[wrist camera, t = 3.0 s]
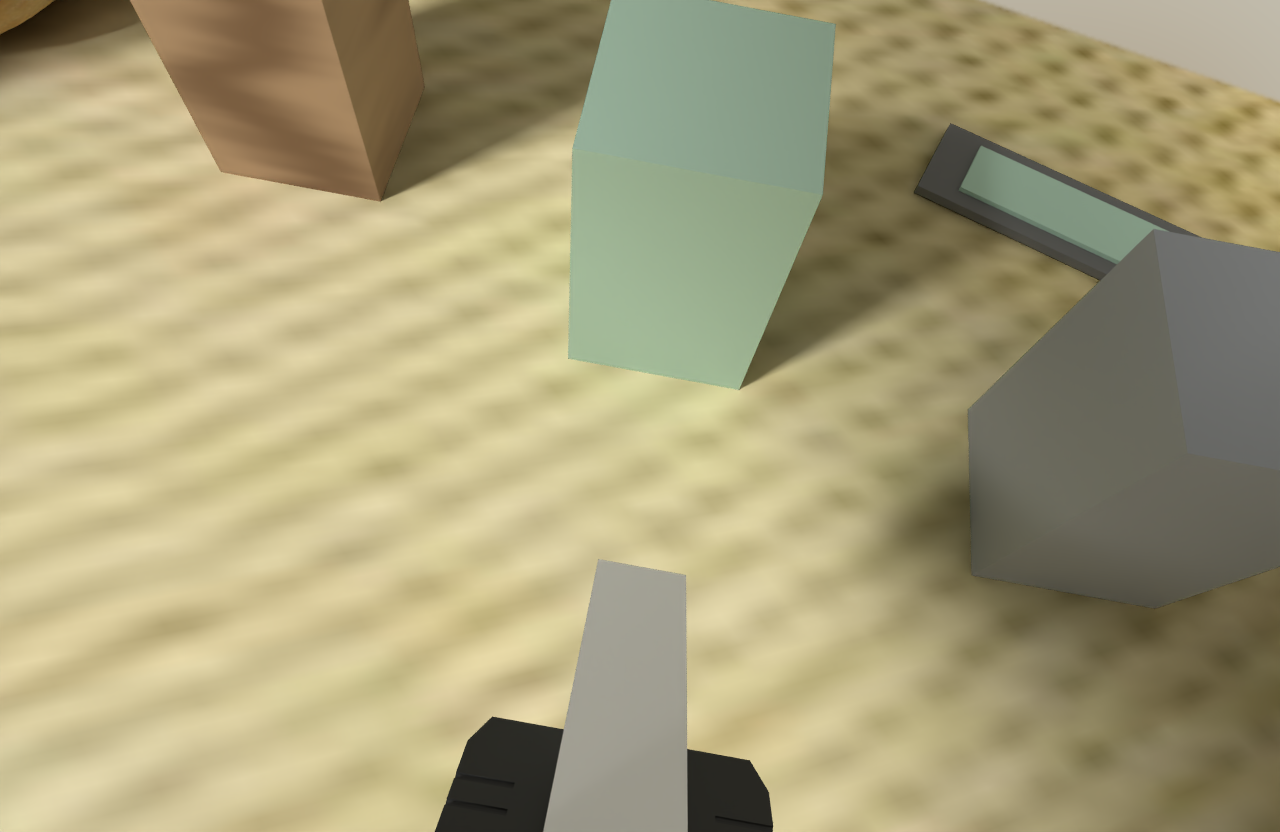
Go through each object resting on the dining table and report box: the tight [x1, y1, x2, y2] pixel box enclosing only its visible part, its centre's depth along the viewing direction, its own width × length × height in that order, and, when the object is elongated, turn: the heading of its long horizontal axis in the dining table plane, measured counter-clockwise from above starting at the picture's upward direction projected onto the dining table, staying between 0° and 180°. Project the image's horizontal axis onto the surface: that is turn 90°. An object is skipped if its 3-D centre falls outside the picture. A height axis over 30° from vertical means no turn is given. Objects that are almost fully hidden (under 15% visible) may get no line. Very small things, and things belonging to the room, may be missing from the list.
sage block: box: [568, 0, 836, 390], centre depth 25 cm, size 6×6×10 cm
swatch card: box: [914, 123, 1202, 280], centre depth 33 cm, size 12×4×1 cm, turn 61°
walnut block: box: [130, 0, 425, 201], centre depth 27 cm, size 6×6×10 cm
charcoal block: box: [968, 229, 1280, 608], centre depth 23 cm, size 6×6×10 cm
